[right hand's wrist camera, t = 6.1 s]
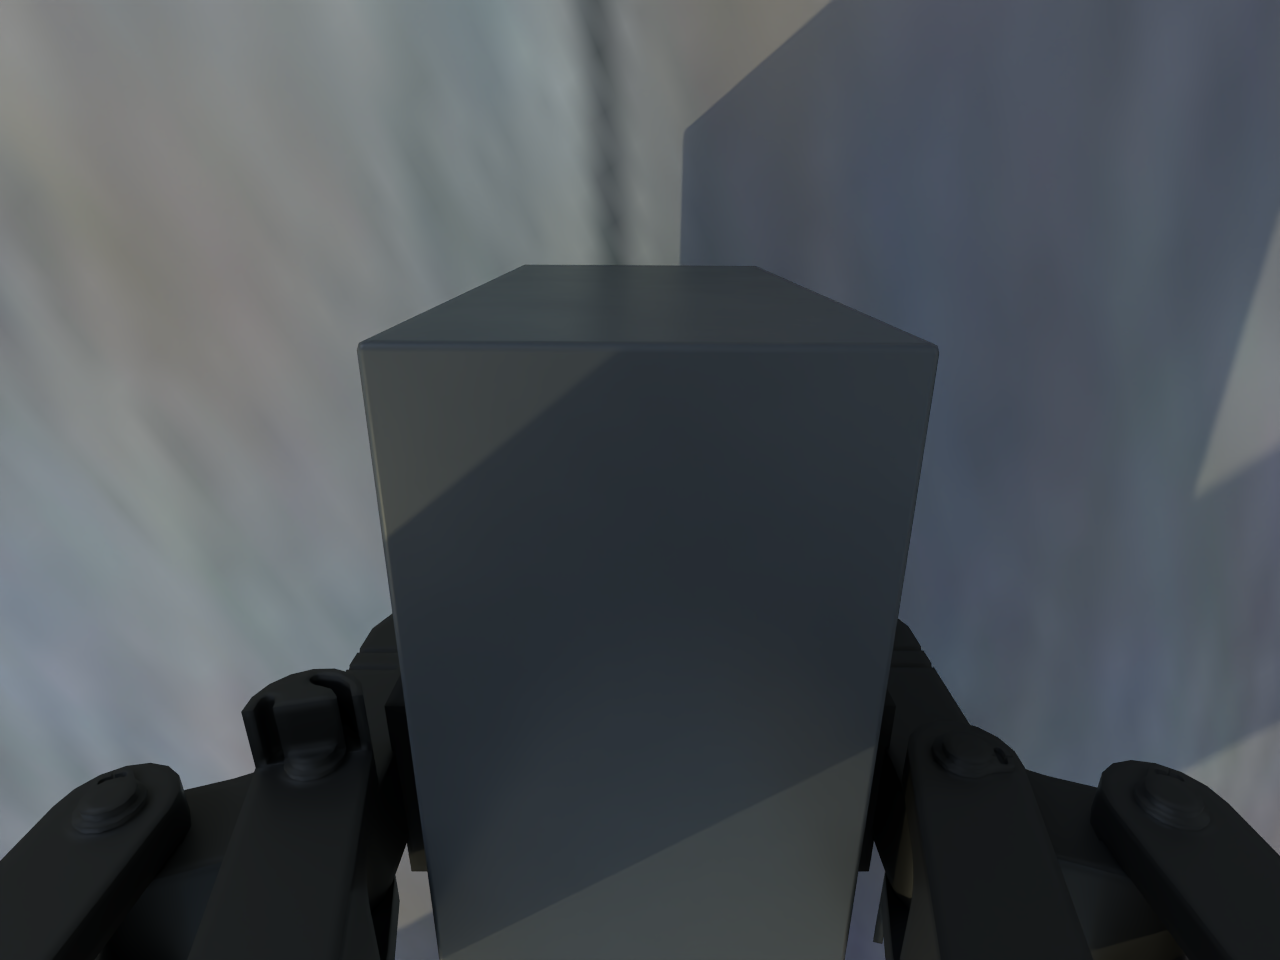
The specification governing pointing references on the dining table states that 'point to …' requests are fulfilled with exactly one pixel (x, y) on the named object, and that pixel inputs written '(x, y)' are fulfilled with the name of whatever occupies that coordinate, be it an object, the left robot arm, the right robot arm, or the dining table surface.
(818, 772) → the post
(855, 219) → the dining table surface
